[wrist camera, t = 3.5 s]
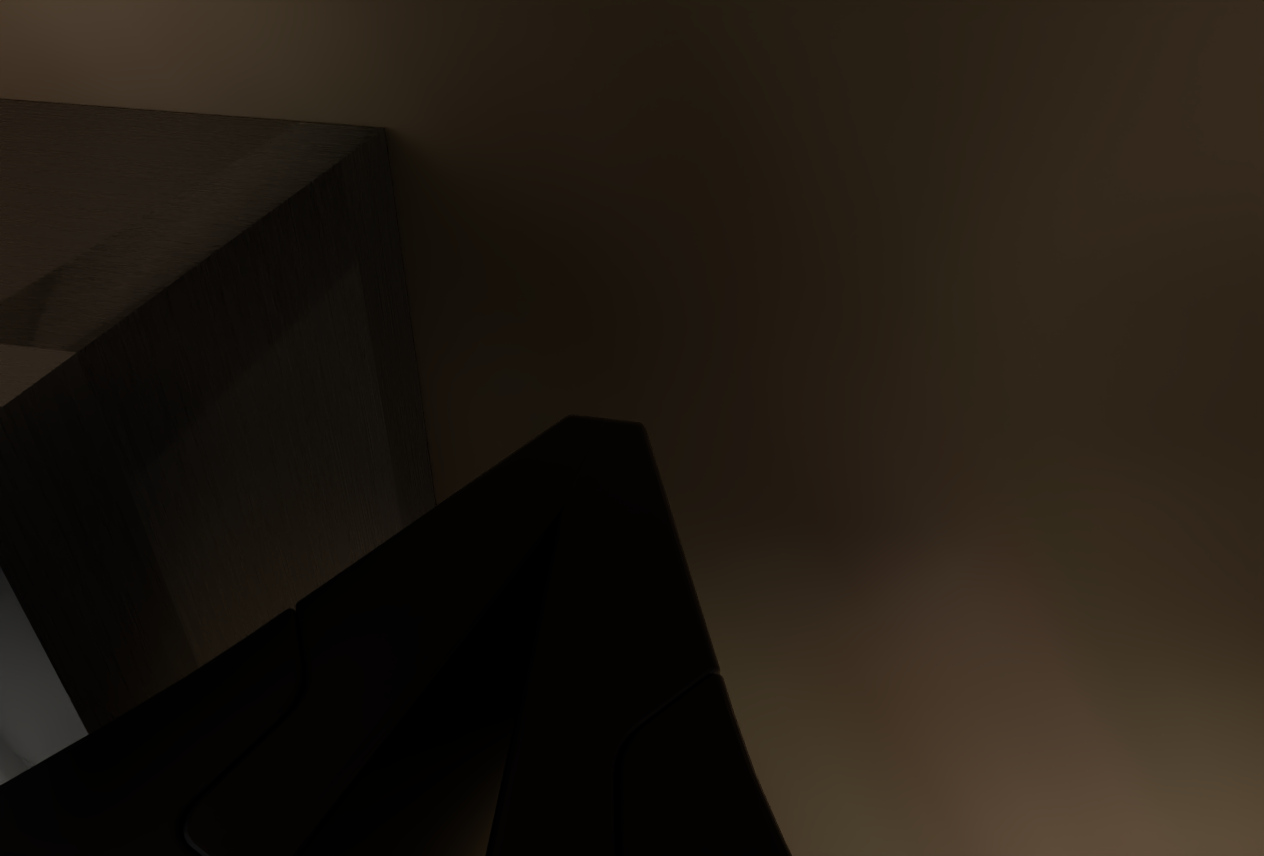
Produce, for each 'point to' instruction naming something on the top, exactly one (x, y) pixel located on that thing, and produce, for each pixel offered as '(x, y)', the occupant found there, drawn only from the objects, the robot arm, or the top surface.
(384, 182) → the dark-topped grey cube
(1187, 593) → the top surface
